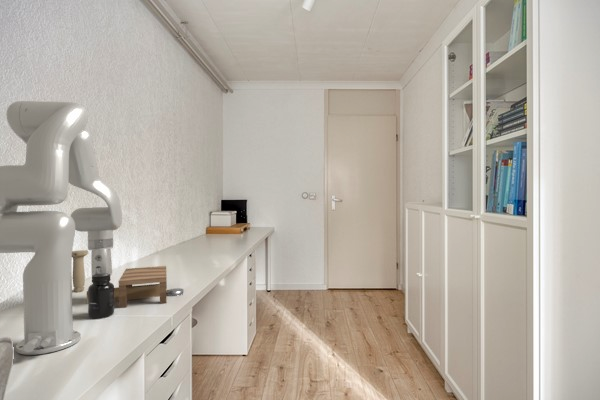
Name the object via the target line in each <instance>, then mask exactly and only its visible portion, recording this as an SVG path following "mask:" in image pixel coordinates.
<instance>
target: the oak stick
mask: <svg viewBox="0 0 600 400" xmlns="http://www.w3.org/2000/svg"><path fill="white" fill-rule="evenodd" d="M126 290H127V301H128V300H137V299H149V298H150V299H151V298H160V283H150V284H139V285H132V286H129V287H126ZM117 301H118V302H119V286H118V287H114V302H117ZM86 304H87V305H88V290H87V291H86Z"/></svg>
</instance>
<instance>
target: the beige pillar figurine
mask: <svg viewBox="0 0 600 400" xmlns="http://www.w3.org/2000/svg"><path fill="white" fill-rule="evenodd" d="M88 254H89V251H88V249H87V250H85V249H84V250H72V288H73V292H74V293H79V292H83V291H84V290H85V283H86V282H85V280H86V279H85V278H86V275H85V272H86V271H85V263H84V262H85V261H84V258H85V256H87V255H88Z"/></svg>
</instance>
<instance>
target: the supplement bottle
mask: <svg viewBox="0 0 600 400" xmlns="http://www.w3.org/2000/svg"><path fill="white" fill-rule="evenodd" d="M114 288H115V286H114V283H112V282H111V276H110V274H96V275H93V276H92V275H91V284H90V285H89V286H88V288H87V291H88V304H87V314H88V315H87V316H88V317H89V318H90V319H105V318H109V317H111V316H113V315H114V313H115V301H114Z"/></svg>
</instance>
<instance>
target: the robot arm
mask: <svg viewBox="0 0 600 400" xmlns="http://www.w3.org/2000/svg"><path fill="white" fill-rule="evenodd" d="M88 114H89V113H88V110H87V108H86V107H84V105H82V104H80V103H76V102H70V101H67V102H66V101H39V100H37V101H36V100H33V101H32V100H19V101H14V102H12V103H11V104H9V106H8V107H7V109H6V121H7V124H8V126H9V127H10V129H11V130H12V131H13V133H14V134H15V135H16V136H17V137H18V138H19V139H21V140H22V141H23V143H24V144H26V146H25V149H26V150H25V162H24V164H21V165H20V164H19V165H17V164H16V165H13V164H12V165H11V164H10V165H9V164H7V165H0V254H15V253H19V254H21V253H34V255H33V256H32V258H31V259H30V260H29V262H27V264H26V266H25V267H24V270H23V272H22V288H23V291H22V294H23V338H24V339H22V340H20V341H19V342H18V343H17V344H16V345H15V352H16V353H18V354H20V355H26V356H33V355H35V356H36V355H42V354H49V353H53V352H56V351H57V352H58V351H61V350H63V349H64V350H65V349H67V348H69V347H71V346H73V345H75V344H77V343H78V342H79V341H80V340H81V333H80V332H79V331H77V330H74V329H73V328H74V327H73V326H74V323H73V322H74V321H73V320H74V319H73V258H72V251H73V247H74V241H75V236H76V235H75V234H76V231H77V232H87V251H88V250H89V251H91V262H90V263H91V266H90V267H91V277H92V276H93V275H96V274H110V277H111V276H112V274H113V265H112V264H113V263H112V250H111V249H114V231H115V230H118V229H120V227H121V226H122V222H123V215H122V214H123V213H122V208H121V201H120V198H119V195H118V194H117V192H116V191H115V189H114V188H113V187H112V186H111V184H109V183H108V182H107V181H106V180H105V179H103V178H102V177H101V176H100V173H99V168H98V162H97V157H96V152H95V148H94V141H93V136H92V134H91V132H90V131H89V130H88V129H87V128H86V127H87V124H88V119H89V115H88ZM69 185H71V186H74V187H76V188H78V189H82V190H84V191H86V192H89V193H91V194H94V195H96V196H98V197H100V198H101V199H102V200H103V201H104V202H105V203H106V205H107V207H106V206H103V207H102V206H97V207H95V206H94V207H80V208H76V209H75V210H73V211H72V212H71V214H68V213H66V212H63V211H56V210H37V211H36V210H32V211H31V210H30V211H18V207H19V206H20V207H23V206H24V207H25V206H26V207H27V206H29V207H30V206H51V205H58V204H59V205H60V204H62V203H64V202H65V201H66V199H67V197H68V195H69V194H68V193H69Z"/></svg>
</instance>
